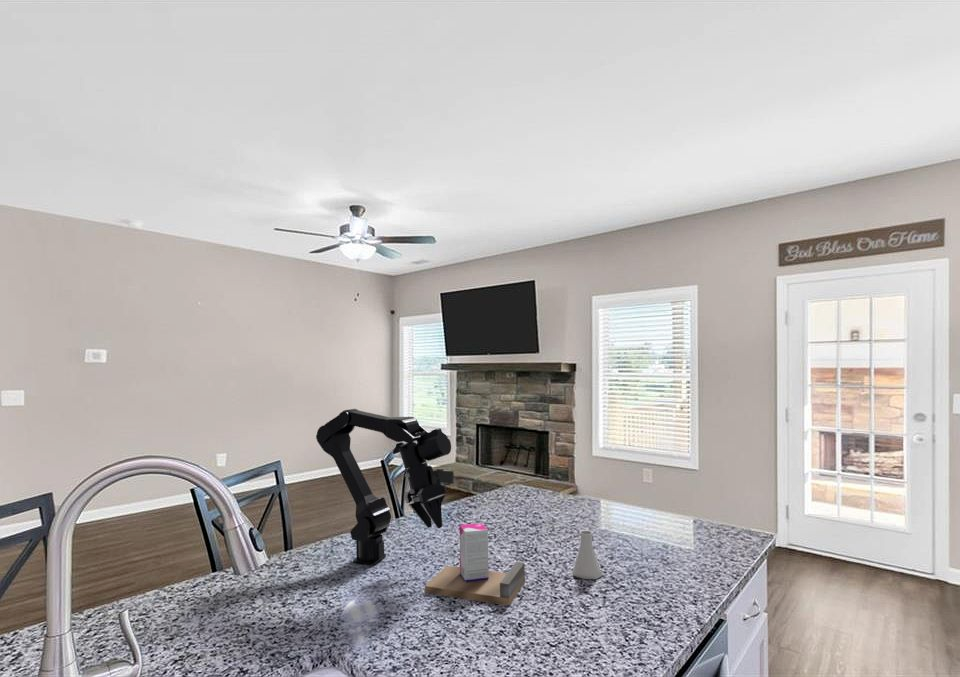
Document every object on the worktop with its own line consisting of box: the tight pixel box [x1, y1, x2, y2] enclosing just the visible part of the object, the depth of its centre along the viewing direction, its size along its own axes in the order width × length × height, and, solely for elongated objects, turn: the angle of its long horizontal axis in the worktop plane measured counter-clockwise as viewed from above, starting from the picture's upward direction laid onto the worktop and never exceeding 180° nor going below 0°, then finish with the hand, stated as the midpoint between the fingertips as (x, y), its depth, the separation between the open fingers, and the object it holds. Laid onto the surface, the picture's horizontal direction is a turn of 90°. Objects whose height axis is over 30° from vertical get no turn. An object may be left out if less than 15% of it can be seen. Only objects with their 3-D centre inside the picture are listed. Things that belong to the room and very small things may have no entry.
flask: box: [572, 529, 603, 580], centre depth 125 cm, size 7×7×10 cm
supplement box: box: [459, 522, 490, 583], centre depth 121 cm, size 6×6×12 cm
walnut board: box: [424, 561, 526, 606], centre depth 119 cm, size 20×12×4 cm, turn 69°
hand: (434, 527), depth 128 cm, fingers open, 9 cm apart
